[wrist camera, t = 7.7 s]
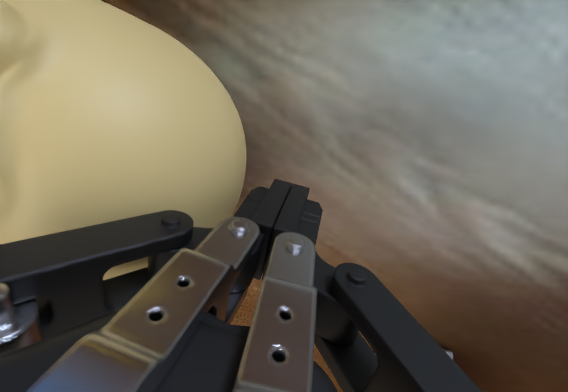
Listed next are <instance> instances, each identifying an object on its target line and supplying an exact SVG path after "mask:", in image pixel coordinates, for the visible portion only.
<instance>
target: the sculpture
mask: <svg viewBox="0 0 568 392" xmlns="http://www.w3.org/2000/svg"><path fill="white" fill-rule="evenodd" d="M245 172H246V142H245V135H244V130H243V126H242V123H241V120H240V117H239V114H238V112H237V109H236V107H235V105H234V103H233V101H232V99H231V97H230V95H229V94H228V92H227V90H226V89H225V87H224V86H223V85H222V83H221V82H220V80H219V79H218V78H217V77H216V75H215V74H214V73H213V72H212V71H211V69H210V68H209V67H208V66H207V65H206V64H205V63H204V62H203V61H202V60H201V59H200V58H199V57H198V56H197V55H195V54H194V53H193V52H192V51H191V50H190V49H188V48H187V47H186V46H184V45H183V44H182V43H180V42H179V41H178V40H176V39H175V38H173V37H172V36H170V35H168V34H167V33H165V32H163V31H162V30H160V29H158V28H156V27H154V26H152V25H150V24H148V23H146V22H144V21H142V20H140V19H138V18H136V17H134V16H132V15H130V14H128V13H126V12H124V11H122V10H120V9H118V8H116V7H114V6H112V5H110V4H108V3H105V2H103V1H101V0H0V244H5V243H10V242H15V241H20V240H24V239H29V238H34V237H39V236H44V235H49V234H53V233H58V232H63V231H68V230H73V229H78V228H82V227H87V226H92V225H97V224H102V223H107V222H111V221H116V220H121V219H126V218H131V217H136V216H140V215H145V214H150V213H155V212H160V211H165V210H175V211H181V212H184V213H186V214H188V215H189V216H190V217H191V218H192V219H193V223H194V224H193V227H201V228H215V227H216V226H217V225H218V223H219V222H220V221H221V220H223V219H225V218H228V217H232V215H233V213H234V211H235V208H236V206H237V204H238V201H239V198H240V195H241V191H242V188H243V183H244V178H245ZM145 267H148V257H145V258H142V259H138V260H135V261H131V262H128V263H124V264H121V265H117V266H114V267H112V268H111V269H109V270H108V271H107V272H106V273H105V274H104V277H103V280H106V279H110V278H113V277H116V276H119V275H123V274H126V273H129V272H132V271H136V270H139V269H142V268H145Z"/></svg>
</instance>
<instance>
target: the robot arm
mask: <svg viewBox="0 0 568 392" xmlns="http://www.w3.org/2000/svg"><path fill="white" fill-rule="evenodd" d="M309 189H310V188H307V187H303V186H300V185H296V184H293V185H292V183H289V182H285V181H282V180H278V179H275V180H274V182H273V183H272V185H271V187H270V188H269V189H268V188H264V187H261V186H260V187H257V188H255V189H253V190H251V192H250V193H249V195H248V196H247V198H246V199H245V201H244V202H243V203H242V205H241V206H240V208H239V209H238V211H237V212H236V214H235V215H234V217H228V218H225V219H223V220H221V221H220V222H219V223H218V225H217V226H216V227H215V228H201V227H193V224H194V223H193V219H192V218H191V217H190V216H189V215H188V214H186V213H184V212H181V211H175V210H165V211H160V212H155V213H150V214H145V215H140V216H136V217H131V218H126V219H121V220H116V221H111V222H107V223H102V224H97V225H92V226H87V227H82V228H78V229H73V230H68V231H63V232H58V233H53V234H49V235H44V236H39V237H34V238H29V239H24V240H20V241H15V242H10V243H5V244H0V392H338V391H337V389H336V388H335V386H334V384H333V382H332V381H331V380H330V378H329V377H328V375H327V374H326V373H325V372H324V371H323V369H322V368H321V367H320V366H319V365H318V364H317V363H316V362H315V361H313V358H314V343H315V345H316V346H317V348H318V350H319V352H320V353H321V355H322V357H323V358H324V360H325V362H326V363H327V365H328V367H329V368H330V370H331V372H332V373H333V375H334V377H335V378H336V380H337V382H338V384H339V385H340V387H341V389H342V390H343V392H482V391H481V390H480V389H479V388H478V387H477V385H476V384H475V383H474V382H473V381H472V380H471V379H470V378H469V377H468V376H467V375H466V374H465V373H464V371H463V370H462V369H461V368H460V367H459V366H458V365H457V364H456V363H455V362H454V361H453V360H452V358H451V357H450V356H449V355H448V354H447V353H446V352H445V351H444V350H443V349H442V348H441V347H440V345H439V344H438V343H437V342H436V341H435V340H434V339H433V338H432V337H431V336H430V335H429V334H428V333H427V331H426V330H425V329H424V328H423V327H422V326H421V325H420V324H419V323H418V322H417V321H416V320H415V318H414V317H413V316H412V315H411V314H410V313H409V312H408V311H407V310H406V309H405V308H404V307H403V305H402V304H401V303H400V302H399V301H398V300H397V299H396V298H395V297H394V296H393V295H392V294H391V293H390V291H389V290H388V289H387V288H386V287H385V286H384V285H383V284H382V283H381V282H380V281H379V280H378V278H377V277H376V276H375V275H374V274H373V273H372V272H371V271H369V270H368V269H366V268H365V267H363V266H360V265H358V264H354V263H343V264H340V265H338V266H337V267H336V268H335V267H333V266H331V265H329V264H328V263H326V262H325V261H323V260H322V259H321V258H320V257H319V256H318V254H317V252H316V248H315V244H316V239H317V234H318V230H319V225H320V220H321V215H322V208H321V206H320V204H319V203H318V202H314V201H311V200H307V197H308V193H309ZM145 257H148V267H145V268H142V269H139V270H136V271H132V272H129V273H126V274H123V275H119V276H116V277H113V278H110V279H106V280H103V277H104V274H105V273H106V272H107V271H108V270H109V269H111V268H112V267H114V266H117V265H121V264H124V263H128V262H131V261H135V260H138V259H142V258H145ZM263 271H264V272H263ZM262 274H263V276H262ZM261 276H262V280H263V282H262V286H261V290H260V293H259V297H258V301H257V304H256V308H255V312H254V315H253V319H252V323H251V327H249V326H238V325H230V323H231V322H232V320H233V318H234V316H235V314H236V313H237V311H238V309H239V307H240V305H241V304H242V302H243V300H244V298H245V296H246V294H247V291H248V287H249V286H250V284H251V282H252V279H253V278H256V279H259V280H260V279H261ZM359 331H360V332H361V333H362V335H363V336H364V337H365V339H366V340H367V341H368V343H369V344H370V345H371V347H372V348H373V350H374V351H375V354H376V355H375V354H374V352H373V351H372V350H371V348H370V347H369V345H368V344H367V343H366V341H365V340H364V339H363V337H362V336H361V335H360V333H359Z"/></svg>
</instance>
